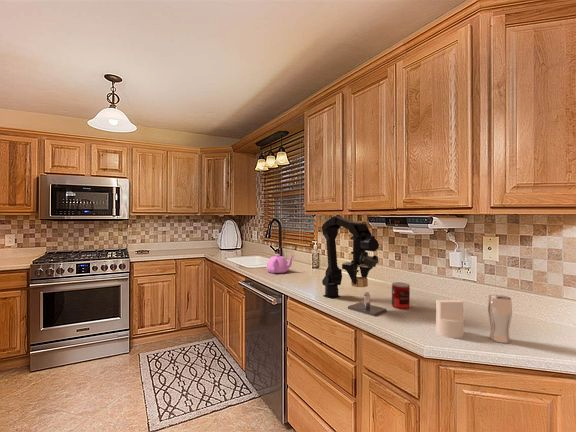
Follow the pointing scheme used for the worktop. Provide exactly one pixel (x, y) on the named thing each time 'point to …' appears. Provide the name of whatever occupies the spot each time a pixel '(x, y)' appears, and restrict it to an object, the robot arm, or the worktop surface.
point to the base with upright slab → (449, 318)
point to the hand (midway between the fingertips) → (359, 283)
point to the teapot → (278, 264)
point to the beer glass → (500, 317)
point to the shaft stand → (367, 307)
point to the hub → (360, 282)
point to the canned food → (400, 295)
